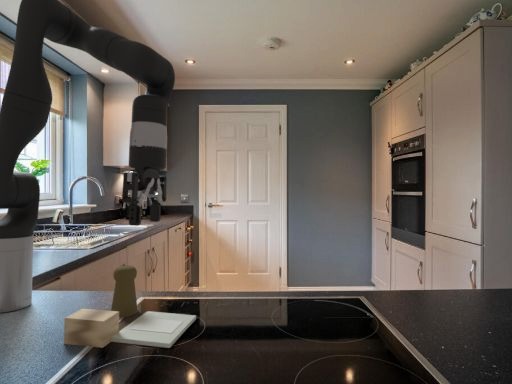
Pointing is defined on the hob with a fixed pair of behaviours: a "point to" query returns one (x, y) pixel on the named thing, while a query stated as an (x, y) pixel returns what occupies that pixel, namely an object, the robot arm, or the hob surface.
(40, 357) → the hob surface
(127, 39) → the robot arm
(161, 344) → the board
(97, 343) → the oak block
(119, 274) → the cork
